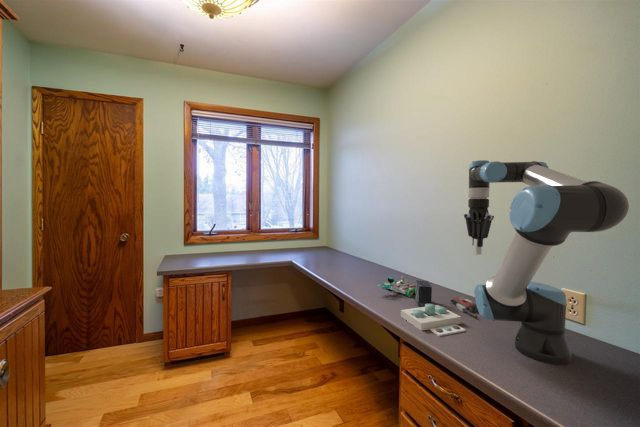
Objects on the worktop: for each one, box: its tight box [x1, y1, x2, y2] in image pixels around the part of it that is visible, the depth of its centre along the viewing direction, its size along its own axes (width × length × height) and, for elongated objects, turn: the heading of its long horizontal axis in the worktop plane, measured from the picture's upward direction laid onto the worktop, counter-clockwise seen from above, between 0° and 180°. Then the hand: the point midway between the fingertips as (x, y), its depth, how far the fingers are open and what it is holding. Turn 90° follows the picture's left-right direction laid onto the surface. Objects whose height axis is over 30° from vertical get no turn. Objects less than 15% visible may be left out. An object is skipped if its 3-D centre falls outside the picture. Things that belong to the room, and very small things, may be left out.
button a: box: [436, 305, 448, 314], centre depth 122 cm, size 4×4×4 cm
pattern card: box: [429, 324, 467, 337], centre depth 111 cm, size 5×13×1 cm, turn 108°
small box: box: [415, 279, 433, 308], centre depth 140 cm, size 11×6×10 cm, turn 168°
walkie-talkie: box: [450, 296, 479, 318], centre depth 132 cm, size 9×4×20 cm
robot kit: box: [376, 275, 416, 298], centre depth 156 cm, size 19×25×9 cm
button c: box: [413, 310, 424, 318], centre depth 119 cm, size 4×4×4 cm
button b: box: [425, 303, 436, 316], centre depth 120 cm, size 4×4×4 cm
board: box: [400, 304, 462, 331], centre depth 121 cm, size 14×20×3 cm
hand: (477, 254), depth 117 cm, fingers closed
